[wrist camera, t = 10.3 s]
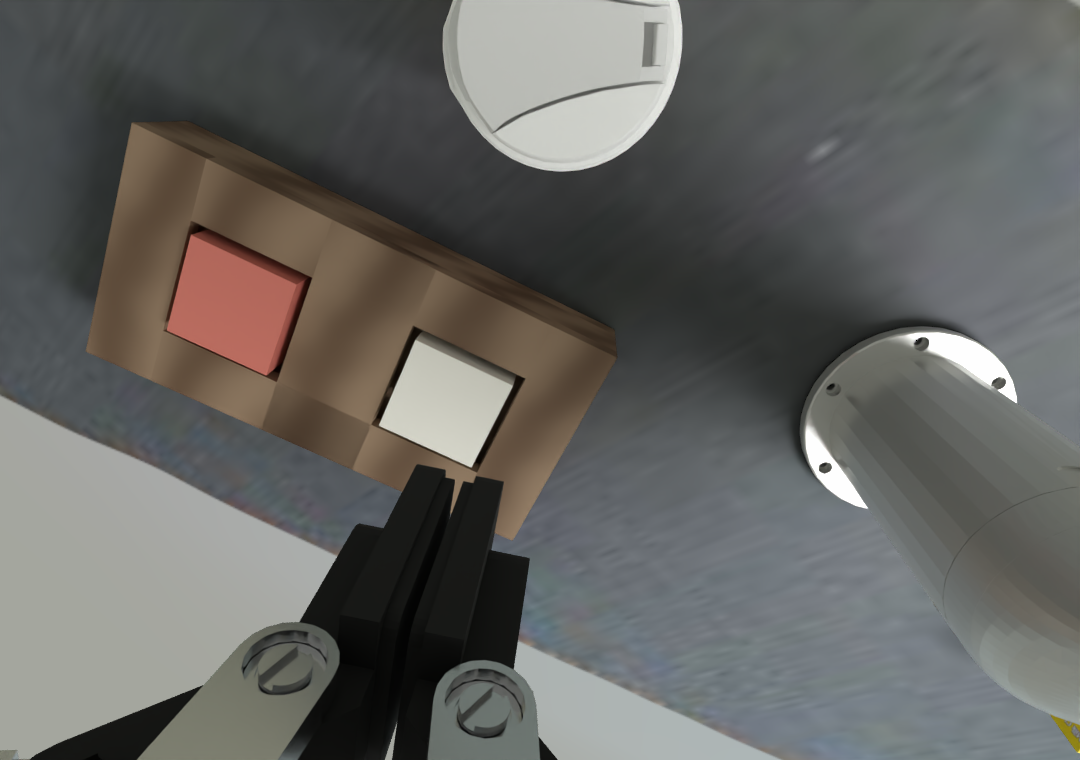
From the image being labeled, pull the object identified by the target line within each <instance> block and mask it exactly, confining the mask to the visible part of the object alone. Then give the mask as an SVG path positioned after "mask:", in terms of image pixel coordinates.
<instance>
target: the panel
mask: <svg viewBox="0 0 1080 760" xmlns="http://www.w3.org/2000/svg"><path fill="white" fill-rule="evenodd" d="M208 229H210V230H212V231H214V232H217V233H219V234H221V235H223V236H225V237H227V238H229V239H231V240H233V241H236V242H238V243H240V244H242V245H244V246H246V247H248V248H250V249H252V250H255V251H257V252H259V253H261V254H263V255H265V256H267V257H269V258H272V259H274V260H276V261H278V262H280V263H282V264H284V265H286V266H288V267H291V268H293V269H295V270H297V271H299V272H301V273H303V274H305V275H307V276H310V277H312V281H311V284H310V287H309V289H308V292H307V295H306V298H305V301H304V304H303V307H302V310H301V313H300V316H299V319H298V322H297V325H296V328H295V330H294V333H293V336H292V339H291V342H290V345H289V348H288V351H287V354H286V357H285V360H284V362H282V363H281V364H280V365H279V366H277V367H276V368H275V369H274V370H273V371H271V372H270V373H269V374H268V375H264V374H262V373H260V372H257V371H255V370H253V369H251V368H249V367H246V366H244V365H242V364H240V363H238V362H235V361H233V360H231V359H229V358H226V357H224V356H222V355H220V354H218V353H215V352H213V351H211V350H209V349H207V348H204V347H202V346H200V345H198V344H196V343H193V342H191V341H189V340H187V339H185V338H182V337H180V336H178V335H176V334H173V333H171V332H169V331H167V327H168V324H169V320H170V316H171V312H172V308H173V304H174V300H175V296H176V292H177V288H178V284H179V280H180V276H181V272H182V268H183V264H184V260H185V257H186V253H187V249H188V245H189V241H190V237H191V235H192V234H196V233H199V232H202V231H205V230H208ZM423 330H424V331H426V332H428V333H430V334H432V335H434V336H436V337H439V338H441V339H443V340H445V341H447V342H449V343H451V344H453V345H455V346H458V347H460V348H462V349H464V350H466V351H468V352H470V353H472V354H474V355H477V356H479V357H481V358H483V359H485V360H487V361H489V362H491V363H494V364H496V365H498V366H500V367H502V368H504V369H506V370H508V371H510V372H513V373H515V374H516V378H515V381H514V385H513V387H512V389H511V391H510V393H509V395H508V397H507V399H506V401H505V403H504V405H503V407H502V409H501V411H500V413H499V415H498V417H497V418H496V420H495V422H494V424H493V426H492V428H491V430H490V432H489V434H488V436H487V438H486V440H485V442H484V444H483V446H482V448H481V450H480V452H479V454H478V456H477V458H476V460H475V462H474V464H473V466H472V468H471V467H469V466H467V465H464V464H462V463H460V462H458V461H456V460H453V459H451V458H449V457H447V456H445V455H442V454H440V453H438V452H436V451H434V450H431V449H429V448H427V447H425V446H423V445H420V444H418V443H416V442H414V441H411V440H409V439H407V438H405V437H403V436H400V435H398V434H396V433H394V432H392V431H389V430H387V429H385V428H383V427H381V426H379V424H380V422H381V419H382V417H383V415H384V412H385V410H386V408H387V405H388V403H389V401H390V398H391V396H392V394H393V391H394V389H395V387H396V384H397V382H398V380H399V377H400V375H401V373H402V370H403V368H404V366H405V363H406V361H407V359H408V356H409V354H410V351H411V349H412V347H413V344H414V342H415V340H416V339H417V337H418V336H419V335H420V333H421V332H422V331H423ZM86 352H88V353H90V354H93V355H95V356H97V357H99V358H102V359H104V360H106V361H108V362H111V363H113V364H115V365H117V366H120V367H122V368H124V369H126V370H129V371H131V372H133V373H135V374H138V375H140V376H142V377H144V378H147V379H149V380H151V381H153V382H156V383H158V384H160V385H162V386H165V387H167V388H169V389H171V390H174V391H176V392H178V393H180V394H183V395H185V396H187V397H189V398H192V399H194V400H196V401H199V402H201V403H203V404H205V405H208V406H210V407H212V408H214V409H217V410H219V411H221V412H223V413H226V414H228V415H230V416H232V417H235V418H237V419H239V420H241V421H244V422H246V423H248V424H250V425H253V426H255V427H257V428H259V429H262V430H264V431H266V432H268V433H271V434H273V435H275V436H277V437H280V438H282V439H284V440H286V441H289V442H291V443H293V444H295V445H298V446H300V447H302V448H305V449H307V450H309V451H311V452H314V453H316V454H318V455H320V456H323V457H325V458H327V459H329V460H332V461H334V462H336V463H338V464H341V465H343V466H345V467H347V468H350V469H352V470H354V471H356V472H359V473H361V474H363V475H365V476H368V477H370V478H372V479H374V480H377V481H379V482H381V483H383V484H386V485H388V486H390V487H392V488H395V489H397V490H399V491H402V492H403V490H404V488H405V486H406V484H407V482H408V480H409V478H410V476H411V474H412V472H413V470H414V468H415V466H416V465H417V464H421V465H426V466H430V467H435V468H440V469H445V470H446V478H451V479H455V486H454V492H453V499H452V505H451V512H450V513H451V514H452V511H453V508H454V505H455V503H456V500H457V497H458V494H459V492H460V489H461V486H462V483H463V481H466V482H471V483H474V480H475V477H476V476H480V477H485V478H490V479H494V480H499V481H504V485H503V491H502V496H501V501H500V507H499V512H498V517H497V522H496V528H495V533H496V534H498V535H501V536H503V537H505V538H508V539H510V540H512V541H513V539H514V537H515V536H516V534H517V532H518V530H519V529H520V527H521V525H522V523H523V522H524V520H525V518H526V516H527V515H528V513H529V511H530V509H531V508H532V506H533V504H534V502H535V501H536V499H537V497H538V495H539V494H540V492H541V490H542V488H543V487H544V485H545V483H546V481H547V480H548V478H549V476H550V474H551V473H552V471H553V469H554V467H555V466H556V464H557V462H558V460H559V459H560V457H561V455H562V453H563V452H564V450H565V448H566V446H567V445H568V443H569V441H570V439H571V438H572V436H573V434H574V433H575V431H576V429H577V427H578V426H579V424H580V422H581V420H582V419H583V417H584V415H585V413H586V412H587V410H588V408H589V406H590V405H591V403H592V401H593V399H594V398H595V396H596V394H597V392H598V391H599V389H600V387H601V385H602V384H603V382H604V380H605V378H606V377H607V375H608V373H609V371H610V370H611V368H612V366H613V364H614V363H615V361H616V359H617V350H616V339H615V330H614V329H612V328H610V327H608V326H606V325H604V324H602V323H600V322H598V321H596V320H594V319H592V318H590V317H588V316H585V315H583V314H581V313H579V312H577V311H575V310H573V309H571V308H569V307H567V306H565V305H563V304H561V303H559V302H557V301H555V300H553V299H551V298H549V297H547V296H545V295H543V294H541V293H538V292H536V291H534V290H532V289H530V288H528V287H526V286H524V285H522V284H520V283H518V282H516V281H514V280H512V279H510V278H508V277H506V276H504V275H502V274H500V273H498V272H496V271H494V270H491V269H489V268H487V267H485V266H483V265H481V264H479V263H477V262H475V261H473V260H471V259H469V258H467V257H465V256H463V255H461V254H459V253H457V252H455V251H453V250H451V249H449V248H447V247H444V246H442V245H440V244H438V243H436V242H434V241H432V240H430V239H428V238H426V237H424V236H422V235H420V234H418V233H416V232H414V231H412V230H410V229H408V228H406V227H404V226H402V225H400V224H397V223H395V222H393V221H391V220H389V219H387V218H385V217H383V216H381V215H379V214H377V213H375V212H373V211H371V210H369V209H367V208H365V207H363V206H361V205H359V204H357V203H355V202H353V201H350V200H348V199H346V198H344V197H342V196H340V195H338V194H336V193H334V192H332V191H330V190H328V189H326V188H324V187H322V186H320V185H318V184H316V183H314V182H312V181H310V180H308V179H306V178H303V177H301V176H299V175H297V174H295V173H293V172H291V171H289V170H287V169H285V168H283V167H281V166H279V165H277V164H275V163H273V162H271V161H269V160H267V159H265V158H263V157H261V156H258V155H256V154H254V153H252V152H250V151H248V150H246V149H244V148H242V147H240V146H238V145H236V144H234V143H232V142H230V141H228V140H226V139H224V138H222V137H220V136H218V135H216V134H214V133H211V132H209V131H207V130H205V129H203V128H201V127H199V126H197V125H195V124H193V123H191V122H189V121H171V122H134V123H132V124H131V129H130V134H129V139H128V144H127V149H126V154H125V159H124V164H123V169H122V174H121V179H120V184H119V189H118V194H117V199H116V204H115V209H114V214H113V219H112V224H111V229H110V234H109V238H108V243H107V248H106V253H105V258H104V263H103V268H102V273H101V278H100V283H99V288H98V293H97V298H96V303H95V308H94V313H93V318H92V323H91V328H90V333H89V338H88V343H87V348H86Z"/></svg>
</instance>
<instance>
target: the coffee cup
mask: <svg viewBox="0 0 1080 760" xmlns="http://www.w3.org/2000/svg"><path fill="white" fill-rule="evenodd" d="M681 52H682V22H681V14H680V7H679V3H678V0H453V2H452V5H451V8H450V11H449V13H448V16H447V19H446V22H445V24H444V27H443V56H444V64H445V71H446V74H447V78H448V82H449V86H450V89H451V90H452V92H453V93H454V95H455V97H456V98H457V100H458V101H459V103H460V104H461V106H462V108H463V109H464V111H465V113H466V114H467V116H468V118H469V119H470V121H471V123H472V124H473V125H474V126H475V127H476V129H477V130H478V131H479V132H480V134H481V135H482V136H483V137H484V138H485V139H486V140H487V141H488V142H489V143H491V144H492V145H493V146H494V147H495V148H496V149H498V150H499V151H501V152H502V153H504V154H505V155H507V156H508V157H510V158H511V159H514V160H516V161H518V162H520V163H523V164H525V165H527V166H531V167H534V168H538V169H542V170H550V171H560V172H562V171H576V170H582V169H586V168H590V167H594V166H597V165H600V164H602V163H604V162H607V161H609V160H612V159H613V158H615V157H617V156H618V155H620V154H621V153H623V152H625V151H626V150H628V149H629V148H630V147H631V146H632V145H634V144H635V143H636V142H637V141H638V140H639V139H641V138H642V137H643V136H644V134H645V133H646V132H647V131H648V130H649V129H650V127H651V126H652V125H653V124H654V123H655V121H656V120H657V118H658V117H659V115H660V113H661V112H662V110H663V109H664V107H665V105H666V103H667V101H668V99H669V96H670V94H671V92H672V90H673V87H674V84H675V81H676V77H677V74H678V70H679V65H680V59H681Z"/></svg>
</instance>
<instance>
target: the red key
mask: <svg viewBox="0 0 1080 760" xmlns="http://www.w3.org/2000/svg"><path fill="white" fill-rule="evenodd" d="M311 281H312V277H310V276H307V275H305V274H303V273H301V272H299V271H297V270H295V269H293V268H291V267H288V266H286V265H284V264H282V263H280V262H278V261H276V260H274V259H272V258H269V257H267V256H265V255H263V254H261V253H259V252H257V251H255V250H252V249H250V248H248V247H246V246H244V245H242V244H240V243H238V242H236V241H233V240H231V239H229V238H227V237H225V236H223V235H221V234H219V233H217V232H214V231H212V230H210V229H208V230H205V231H202V232H199V233H196V234H192V235H191V237H190V241H189V245H188V249H187V253H186V257H185V260H184V264H183V268H182V272H181V276H180V280H179V284H178V288H177V292H176V296H175V300H174V304H173V308H172V312H171V316H170V320H169V324H168V327H167V331H169V332H171V333H173V334H176V335H178V336H180V337H182V338H185V339H187V340H189V341H191V342H193V343H196V344H198V345H200V346H202V347H204V348H207V349H209V350H211V351H213V352H215V353H218V354H220V355H222V356H224V357H226V358H229V359H231V360H233V361H235V362H238V363H240V364H242V365H244V366H246V367H249V368H251V369H253V370H255V371H257V372H260V373H262V374H264V375H268V374H269V373H270V372H271V371H273V370H274V369H275V368H276V367H277V366H279V365H280V364H281V363H282V362H284V360H285V357H286V354H287V351H288V348H289V345H290V342H291V339H292V336H293V333H294V330H295V328H296V325H297V322H298V319H299V316H300V313H301V310H302V307H303V304H304V301H305V298H306V295H307V292H308V289H309V287H310V284H311Z"/></svg>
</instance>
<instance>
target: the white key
mask: <svg viewBox="0 0 1080 760" xmlns="http://www.w3.org/2000/svg"><path fill="white" fill-rule="evenodd" d="M515 378H516V374H515V373H513V372H510V371H508V370H506V369H504V368H502V367H500V366H498V365H496V364H494V363H491V362H489V361H487V360H485V359H483V358H481V357H479V356H477V355H474V354H472V353H470V352H468V351H466V350H464V349H462V348H460V347H458V346H455V345H453V344H451V343H449V342H447V341H445V340H443V339H441V338H439V337H436V336H434V335H432V334H430V333H428V332H426V331H424V330H423V331H422V332H421V333H420V335H419V336H418V337H417V339H416V340H415V342H414V344H413V347H412V349H411V351H410V354H409V356H408V359H407V361H406V363H405V366H404V368H403V370H402V373H401V375H400V377H399V380H398V382H397V384H396V387H395V389H394V391H393V394H392V396H391V398H390V401H389V403H388V405H387V408H386V410H385V412H384V415H383V417H382V419H381V422H380V424H379V426H381V427H383V428H385V429H387V430H389V431H392V432H394V433H396V434H398V435H400V436H403V437H405V438H407V439H409V440H411V441H414V442H416V443H418V444H420V445H423V446H425V447H427V448H429V449H431V450H434V451H436V452H438V453H440V454H442V455H445V456H447V457H449V458H451V459H453V460H456V461H458V462H460V463H462V464H464V465H467V466H469V467H471V468H472V466H473V464H474V462H475V460H476V458H477V456H478V454H479V452H480V450H481V448H482V446H483V444H484V442H485V440H486V438H487V436H488V434H489V432H490V430H491V428H492V426H493V424H494V422H495V420H496V418H497V417H498V415H499V413H500V411H501V409H502V407H503V405H504V403H505V401H506V399H507V397H508V395H509V393H510V391H511V389H512V387H513V385H514V381H515Z"/></svg>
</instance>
